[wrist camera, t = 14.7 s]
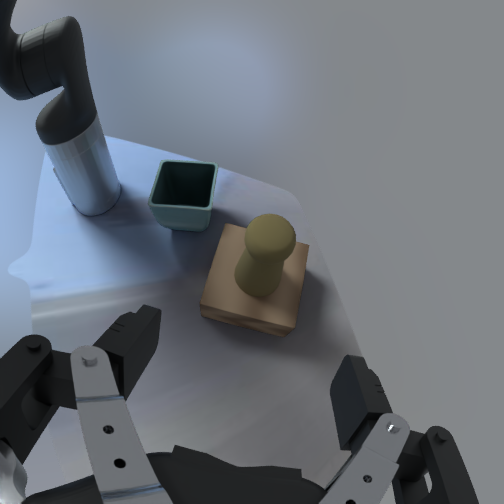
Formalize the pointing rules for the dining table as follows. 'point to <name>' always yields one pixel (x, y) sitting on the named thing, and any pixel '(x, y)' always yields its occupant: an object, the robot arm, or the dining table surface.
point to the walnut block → (244, 305)
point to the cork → (264, 254)
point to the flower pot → (183, 194)
